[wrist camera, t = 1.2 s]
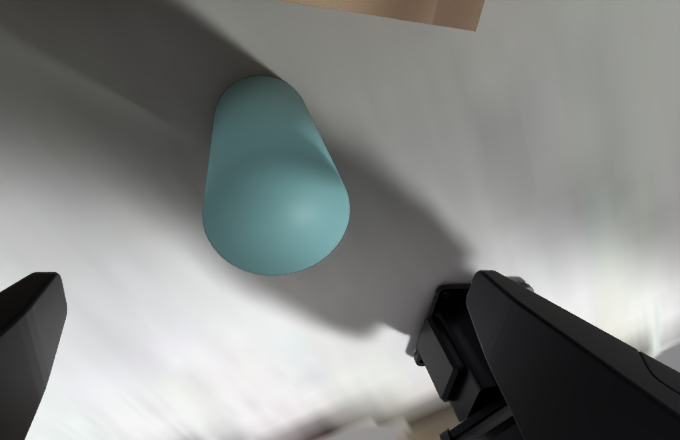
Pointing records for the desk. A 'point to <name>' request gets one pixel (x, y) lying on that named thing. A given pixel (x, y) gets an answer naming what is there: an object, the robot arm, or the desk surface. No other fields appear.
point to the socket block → (412, 10)
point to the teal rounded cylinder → (271, 182)
